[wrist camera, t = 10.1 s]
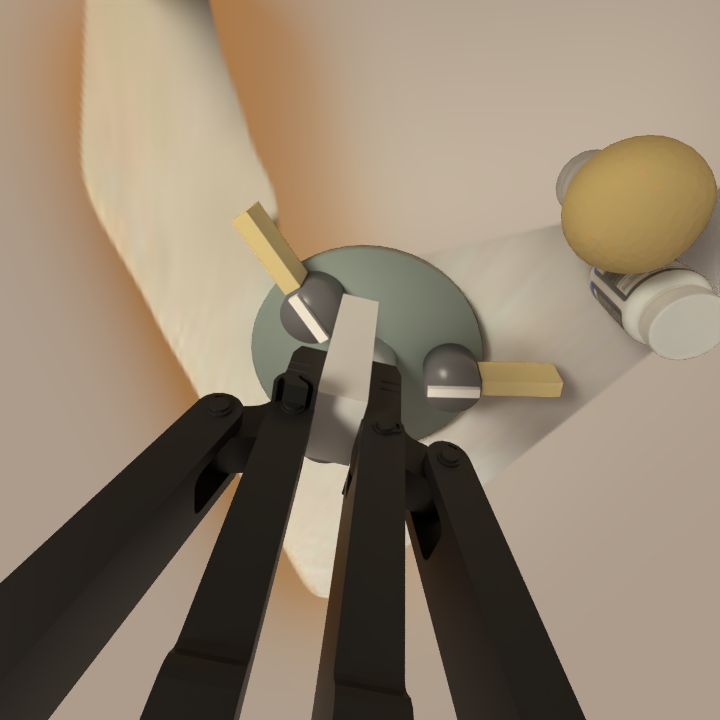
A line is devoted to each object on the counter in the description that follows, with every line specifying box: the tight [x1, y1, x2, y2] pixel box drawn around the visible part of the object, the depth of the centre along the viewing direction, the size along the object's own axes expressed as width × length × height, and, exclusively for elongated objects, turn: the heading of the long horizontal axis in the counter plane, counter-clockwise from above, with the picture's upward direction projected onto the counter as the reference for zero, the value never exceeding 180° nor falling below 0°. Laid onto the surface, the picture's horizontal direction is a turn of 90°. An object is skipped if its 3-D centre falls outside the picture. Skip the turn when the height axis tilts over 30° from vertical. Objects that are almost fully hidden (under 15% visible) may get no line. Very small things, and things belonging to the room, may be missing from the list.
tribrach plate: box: [251, 245, 483, 440], centre depth 33 cm, size 18×18×7 cm
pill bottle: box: [589, 259, 720, 360], centre depth 27 cm, size 5×5×8 cm
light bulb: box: [556, 135, 717, 274], centre depth 24 cm, size 6×6×10 cm
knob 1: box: [231, 201, 345, 344], centre depth 29 cm, size 10×4×4 cm, turn 32°
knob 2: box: [423, 343, 563, 412], centre depth 32 cm, size 10×4×4 cm, turn 92°
